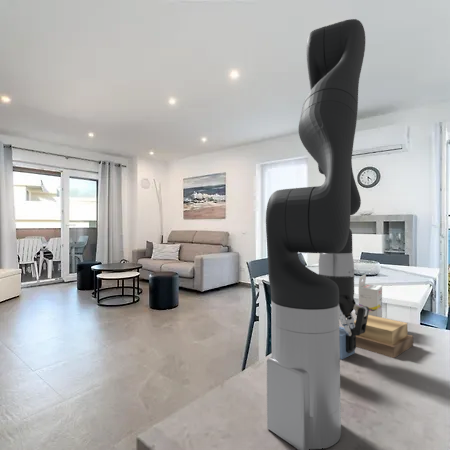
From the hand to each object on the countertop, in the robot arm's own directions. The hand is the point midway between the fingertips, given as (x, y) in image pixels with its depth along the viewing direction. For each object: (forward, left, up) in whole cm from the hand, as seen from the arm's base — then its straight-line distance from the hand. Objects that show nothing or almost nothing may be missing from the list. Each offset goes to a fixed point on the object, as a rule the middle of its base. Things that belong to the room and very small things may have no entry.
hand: (337, 347), depth 66 cm
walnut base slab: (+12, -4, -2) cm, 13 cm away
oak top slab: (+12, -4, +1) cm, 13 cm away
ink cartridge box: (+23, +3, -1) cm, 23 cm away
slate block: (0, 0, -1) cm, 1 cm away
